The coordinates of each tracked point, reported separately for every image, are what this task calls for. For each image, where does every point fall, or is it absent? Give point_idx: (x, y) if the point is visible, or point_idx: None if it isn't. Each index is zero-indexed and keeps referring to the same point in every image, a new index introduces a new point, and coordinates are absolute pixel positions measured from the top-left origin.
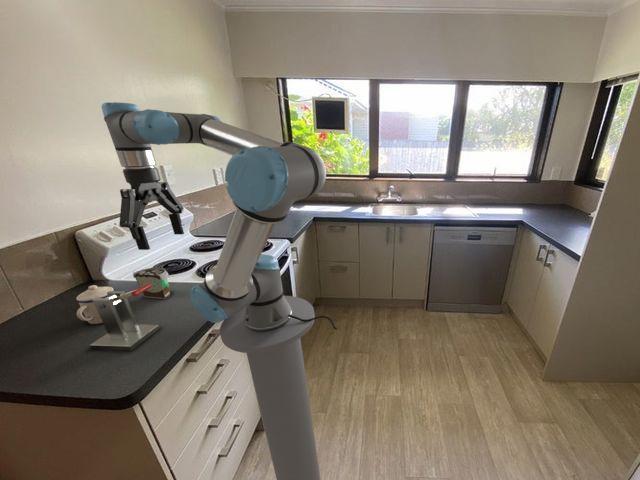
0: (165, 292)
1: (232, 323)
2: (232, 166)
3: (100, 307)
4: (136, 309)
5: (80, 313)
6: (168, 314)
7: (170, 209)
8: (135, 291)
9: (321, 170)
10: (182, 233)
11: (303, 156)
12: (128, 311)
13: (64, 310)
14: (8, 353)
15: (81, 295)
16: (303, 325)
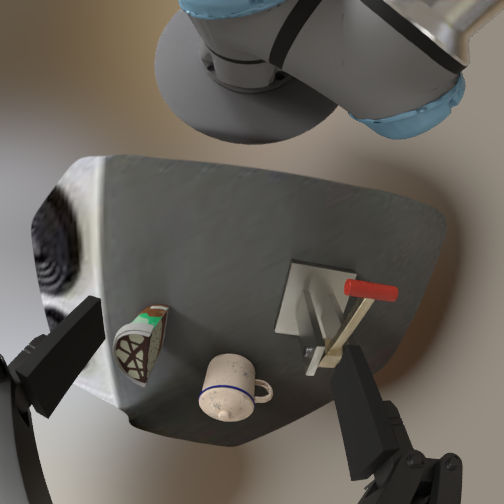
0: (161, 311)
1: (264, 119)
2: None
3: None
4: (208, 338)
5: (271, 394)
6: (234, 269)
7: (24, 430)
8: (395, 293)
9: None
10: (97, 300)
11: None
12: (316, 316)
13: (208, 420)
14: (309, 412)
15: (239, 417)
16: None
